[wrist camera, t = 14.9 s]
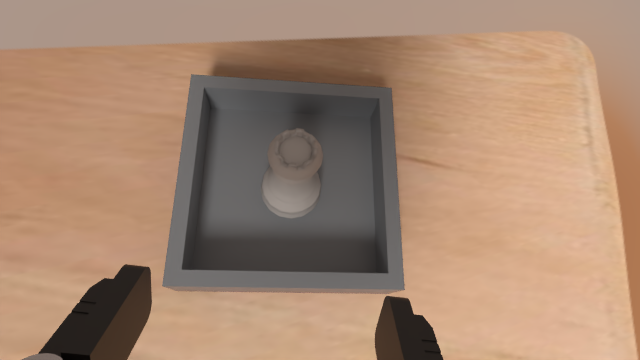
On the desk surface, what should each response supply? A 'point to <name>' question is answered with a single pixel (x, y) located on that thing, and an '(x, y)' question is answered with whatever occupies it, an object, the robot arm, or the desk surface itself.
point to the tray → (252, 213)
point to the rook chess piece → (292, 174)
